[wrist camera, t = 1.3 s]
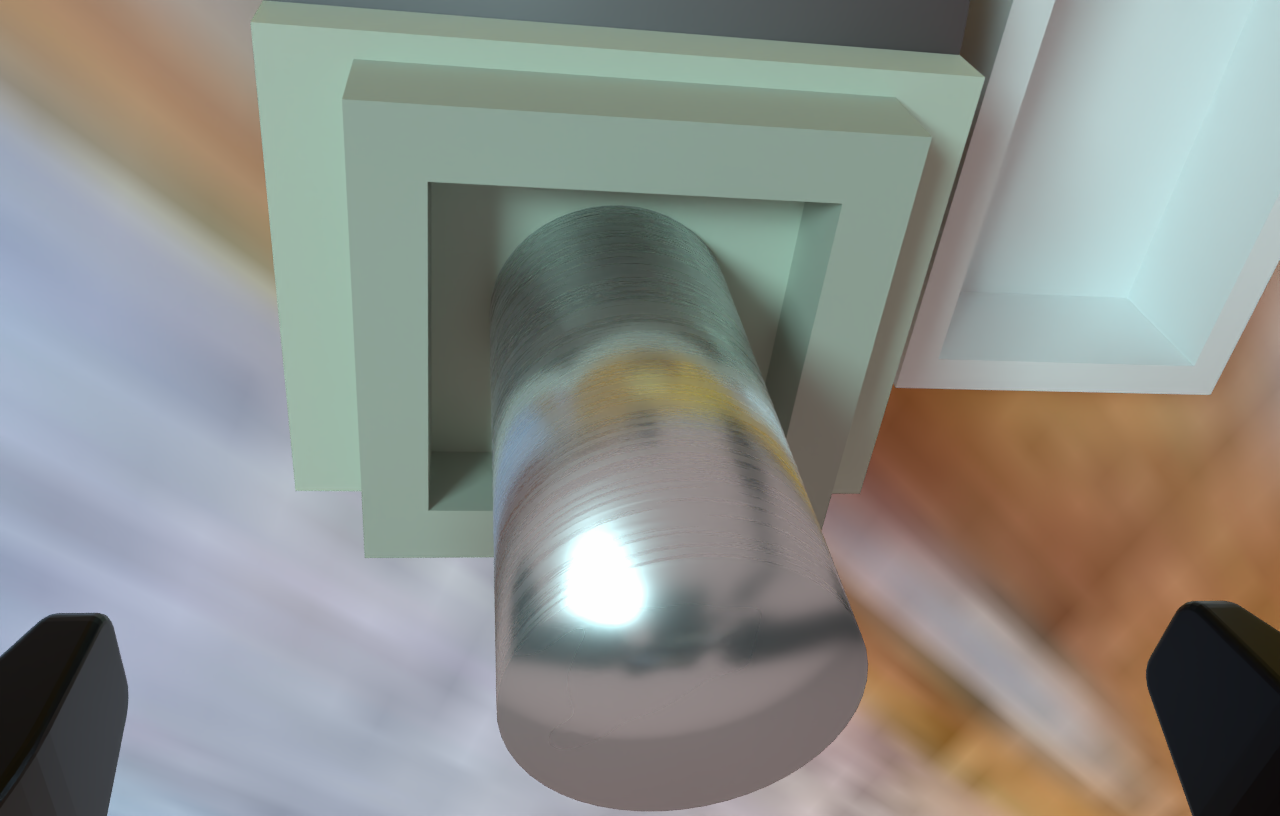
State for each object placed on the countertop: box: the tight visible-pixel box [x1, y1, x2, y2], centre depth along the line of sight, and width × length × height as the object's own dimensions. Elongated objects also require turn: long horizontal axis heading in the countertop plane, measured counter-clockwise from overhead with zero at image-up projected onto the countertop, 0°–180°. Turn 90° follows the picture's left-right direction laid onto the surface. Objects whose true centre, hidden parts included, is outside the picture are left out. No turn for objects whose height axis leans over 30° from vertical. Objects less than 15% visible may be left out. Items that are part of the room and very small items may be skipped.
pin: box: [489, 205, 868, 811], centre depth 11 cm, size 3×3×6 cm
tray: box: [893, 0, 1280, 395], centre depth 17 cm, size 6×9×3 cm, turn 173°
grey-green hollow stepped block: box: [251, 0, 985, 558], centre depth 14 cm, size 8×9×7 cm
